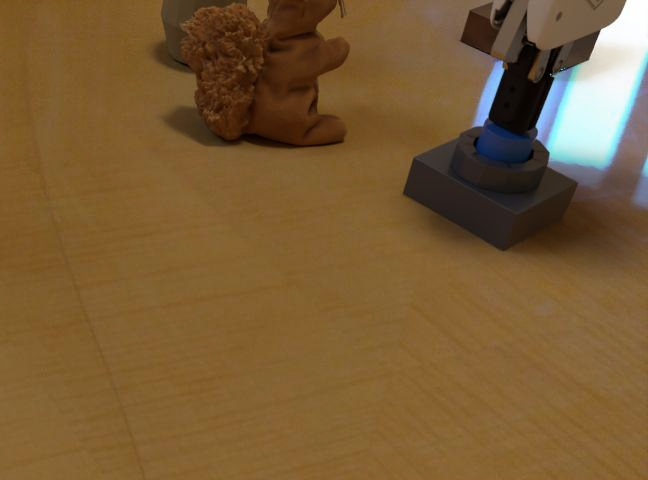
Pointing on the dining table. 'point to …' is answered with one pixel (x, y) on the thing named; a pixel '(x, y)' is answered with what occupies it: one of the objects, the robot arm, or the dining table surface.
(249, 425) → the dining table surface
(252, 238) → the dining table surface
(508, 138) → the blue push button
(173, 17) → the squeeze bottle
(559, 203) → the push button base
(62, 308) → the dining table surface
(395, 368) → the dining table surface
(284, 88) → the stuffed squirrel
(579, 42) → the panel
